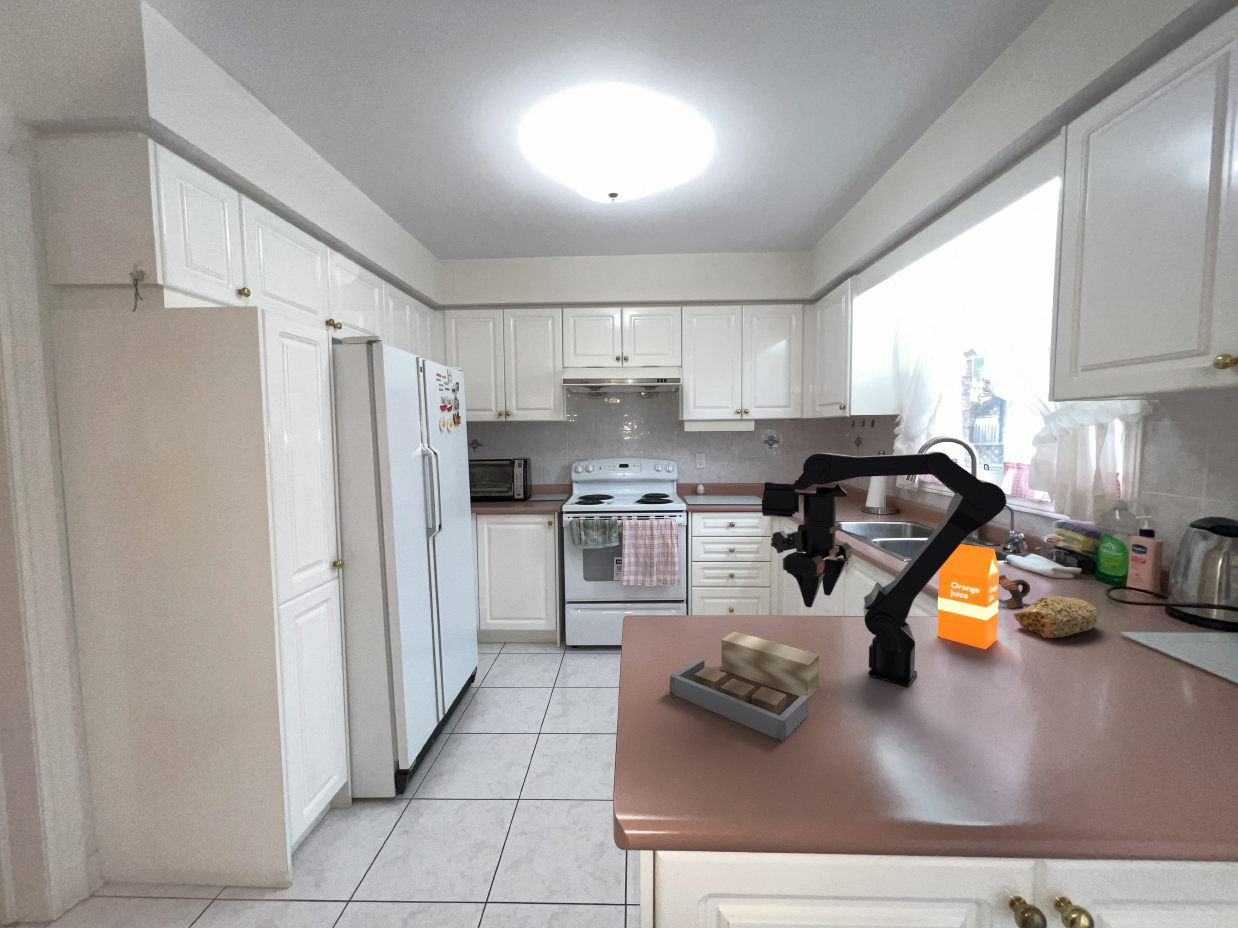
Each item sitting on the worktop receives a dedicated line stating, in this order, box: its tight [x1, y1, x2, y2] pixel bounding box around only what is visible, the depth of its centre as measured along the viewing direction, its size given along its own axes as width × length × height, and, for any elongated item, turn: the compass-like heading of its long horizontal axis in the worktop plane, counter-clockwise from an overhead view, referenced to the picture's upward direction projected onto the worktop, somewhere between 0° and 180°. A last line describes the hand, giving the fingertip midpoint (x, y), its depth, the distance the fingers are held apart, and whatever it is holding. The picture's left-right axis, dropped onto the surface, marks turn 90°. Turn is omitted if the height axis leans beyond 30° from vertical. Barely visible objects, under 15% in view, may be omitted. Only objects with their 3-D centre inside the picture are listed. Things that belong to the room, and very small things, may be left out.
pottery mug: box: [999, 574, 1031, 609], centre depth 129 cm, size 12×10×8 cm
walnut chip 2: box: [751, 686, 788, 716], centre depth 78 cm, size 4×4×3 cm
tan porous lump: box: [1013, 595, 1099, 639], centre depth 111 cm, size 13×8×20 cm
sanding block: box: [721, 631, 820, 698], centre depth 89 cm, size 16×5×6 cm, turn 49°
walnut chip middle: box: [720, 678, 756, 704], centre depth 80 cm, size 4×4×3 cm
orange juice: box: [937, 543, 1000, 650], centre depth 106 cm, size 8×9×20 cm
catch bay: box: [669, 658, 810, 742], centre depth 80 cm, size 20×9×3 cm, turn 47°
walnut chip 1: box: [694, 666, 728, 692], centre depth 85 cm, size 4×4×3 cm
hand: (818, 600), depth 94 cm, fingers open, 9 cm apart
